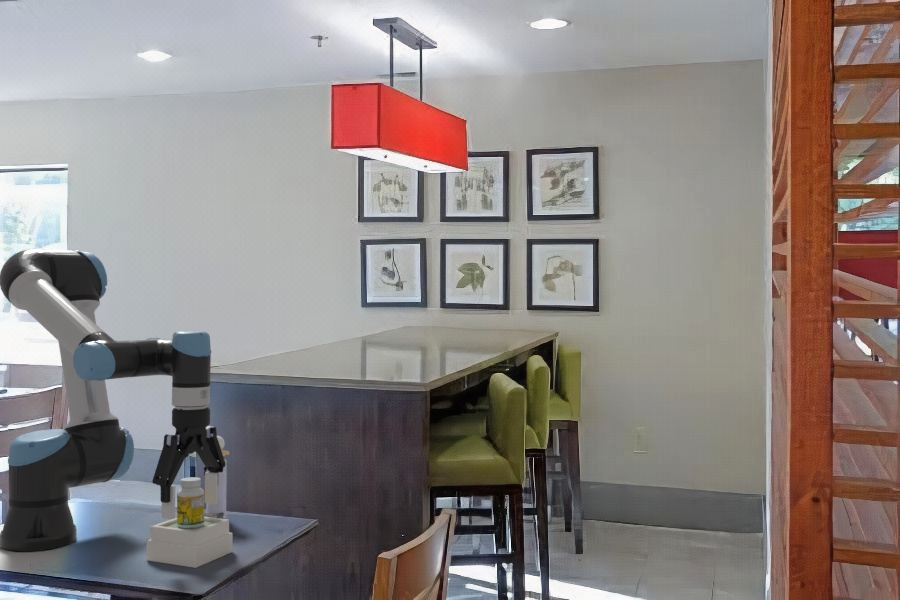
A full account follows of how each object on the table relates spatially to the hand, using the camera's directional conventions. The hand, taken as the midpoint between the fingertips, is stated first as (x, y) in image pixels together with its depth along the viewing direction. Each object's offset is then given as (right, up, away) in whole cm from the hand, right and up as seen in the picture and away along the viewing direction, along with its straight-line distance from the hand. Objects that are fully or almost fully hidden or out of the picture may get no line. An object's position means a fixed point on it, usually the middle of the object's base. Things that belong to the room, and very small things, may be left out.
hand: (190, 510), depth 190 cm
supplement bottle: (0, -3, 0) cm, 3 cm away
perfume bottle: (-2, -9, +29) cm, 31 cm away
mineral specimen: (-3, -10, +18) cm, 21 cm away
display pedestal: (0, -9, 0) cm, 9 cm away
